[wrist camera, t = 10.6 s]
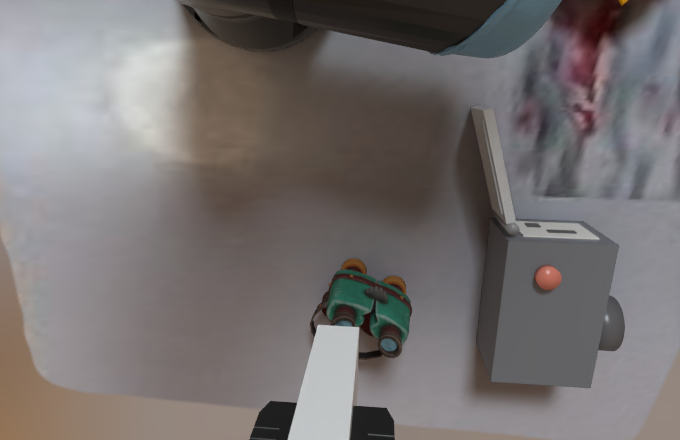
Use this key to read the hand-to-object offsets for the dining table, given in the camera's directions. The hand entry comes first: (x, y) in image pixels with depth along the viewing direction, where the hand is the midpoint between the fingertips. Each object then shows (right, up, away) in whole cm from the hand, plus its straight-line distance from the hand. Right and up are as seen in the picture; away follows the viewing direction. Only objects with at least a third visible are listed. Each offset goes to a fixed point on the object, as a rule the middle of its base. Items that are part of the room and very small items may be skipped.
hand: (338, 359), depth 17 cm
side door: (+14, +11, +27) cm, 32 cm away
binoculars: (+3, -4, +33) cm, 33 cm away
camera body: (+21, -2, +30) cm, 37 cm away
